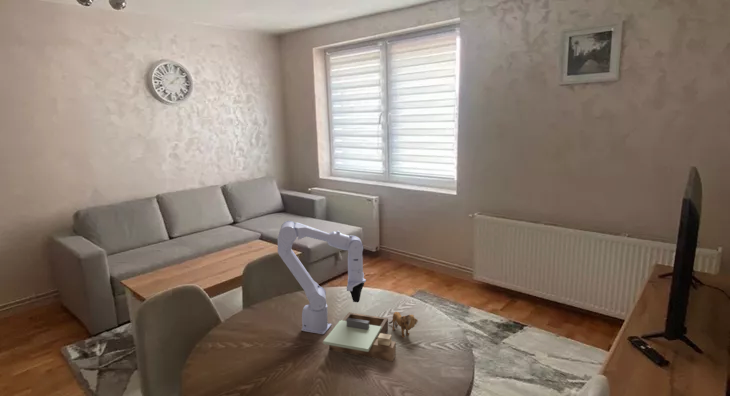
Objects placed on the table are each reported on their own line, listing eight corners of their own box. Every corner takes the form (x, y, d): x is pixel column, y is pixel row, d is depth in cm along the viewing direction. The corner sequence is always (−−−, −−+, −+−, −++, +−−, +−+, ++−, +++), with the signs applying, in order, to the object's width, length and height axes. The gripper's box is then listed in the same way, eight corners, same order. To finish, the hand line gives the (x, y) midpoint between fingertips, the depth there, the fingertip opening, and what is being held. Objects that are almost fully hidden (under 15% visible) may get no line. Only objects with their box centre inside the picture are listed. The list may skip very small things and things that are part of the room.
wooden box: (329, 350, 148) (329, 336, 147) (348, 324, 166) (348, 312, 165) (392, 361, 141) (392, 347, 140) (405, 333, 159) (405, 320, 158)
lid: (323, 343, 142) (323, 334, 141) (340, 322, 157) (340, 313, 156) (368, 351, 137) (368, 342, 136) (381, 329, 152) (381, 320, 151)
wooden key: (377, 344, 142) (377, 337, 141) (380, 339, 144) (380, 333, 144) (389, 346, 140) (389, 339, 140) (391, 341, 143) (391, 334, 143)
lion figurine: (419, 337, 156) (420, 315, 154) (408, 342, 153) (409, 319, 151) (393, 322, 168) (393, 301, 166) (383, 326, 164) (383, 305, 163)
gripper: (359, 275, 152) (360, 310, 154) (371, 262, 165) (371, 295, 168) (341, 274, 154) (342, 308, 157) (354, 261, 168) (355, 293, 170)
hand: (356, 301), depth 162 cm, fingers closed
